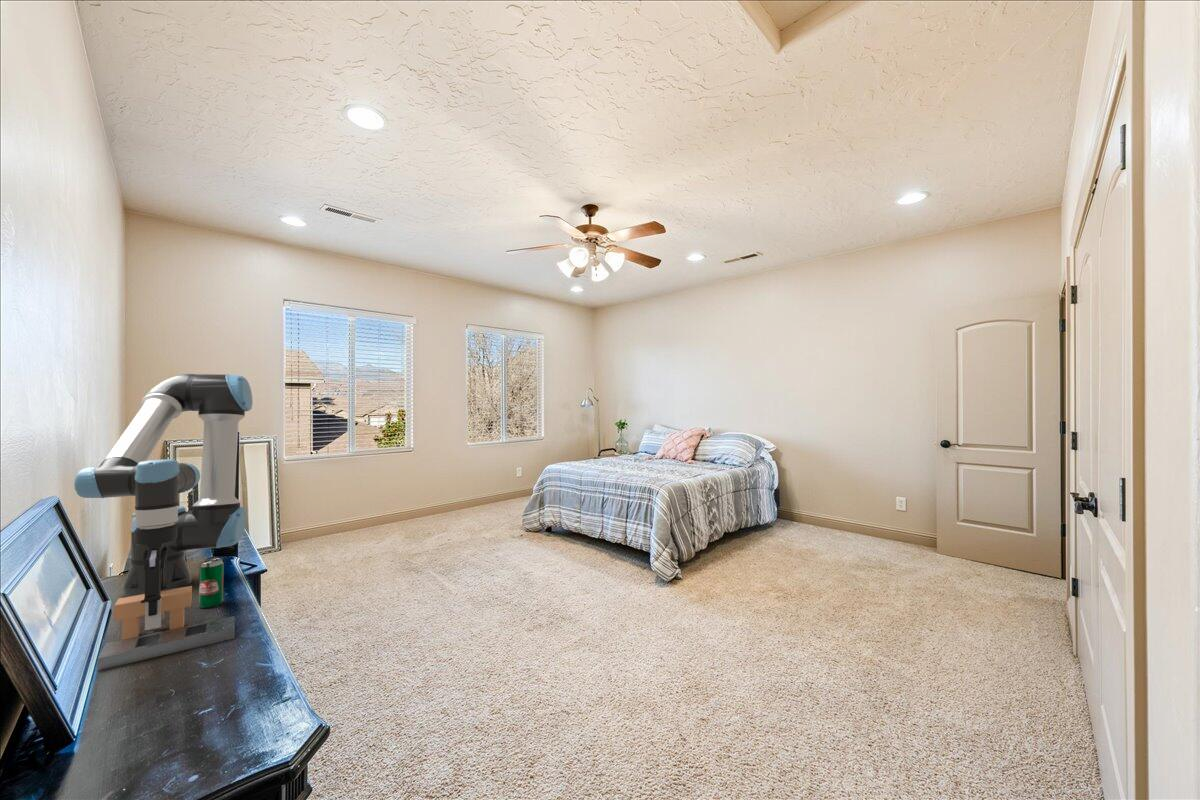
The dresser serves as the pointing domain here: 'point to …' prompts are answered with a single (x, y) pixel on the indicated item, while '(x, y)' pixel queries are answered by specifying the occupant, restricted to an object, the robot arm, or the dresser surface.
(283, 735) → the dresser surface
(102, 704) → the dresser surface
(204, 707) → the dresser surface
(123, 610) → the wooden arch block
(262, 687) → the dresser surface
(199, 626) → the rail
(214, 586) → the soda can
